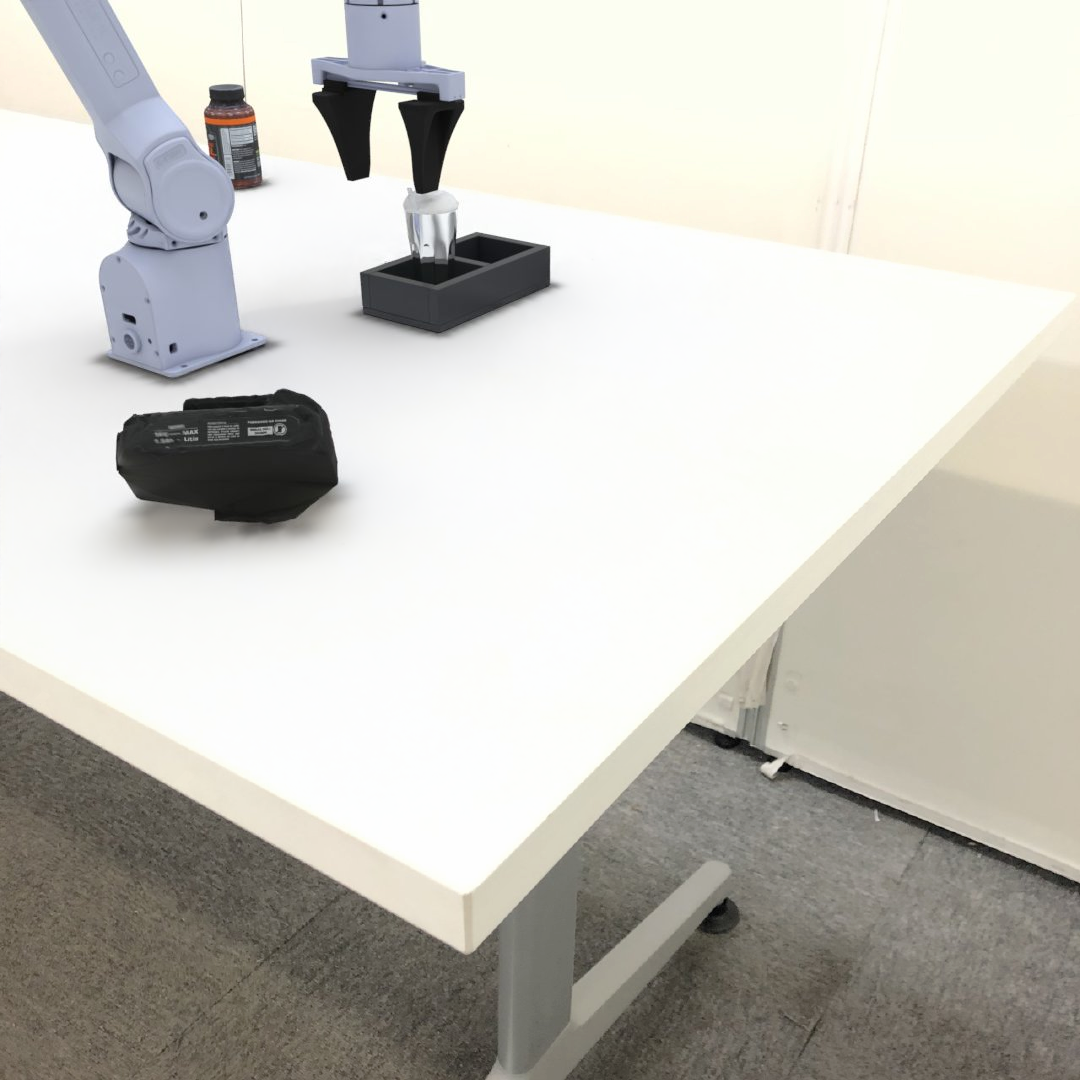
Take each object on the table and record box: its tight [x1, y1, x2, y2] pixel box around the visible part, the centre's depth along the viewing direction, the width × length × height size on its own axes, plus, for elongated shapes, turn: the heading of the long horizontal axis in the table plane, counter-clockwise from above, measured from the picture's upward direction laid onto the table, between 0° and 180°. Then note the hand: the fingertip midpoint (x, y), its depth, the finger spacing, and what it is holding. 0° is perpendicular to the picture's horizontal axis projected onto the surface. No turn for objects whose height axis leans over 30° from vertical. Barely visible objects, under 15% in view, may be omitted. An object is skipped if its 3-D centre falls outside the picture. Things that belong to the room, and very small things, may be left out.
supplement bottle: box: [203, 83, 263, 190], centre depth 135 cm, size 6×6×11 cm
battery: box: [115, 387, 339, 525], centre depth 64 cm, size 12×8×7 cm
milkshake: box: [402, 187, 460, 285], centre depth 94 cm, size 4×5×10 cm
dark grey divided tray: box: [359, 231, 551, 333], centre depth 99 cm, size 8×16×4 cm, turn 145°
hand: (392, 185), depth 93 cm, fingers open, 7 cm apart
